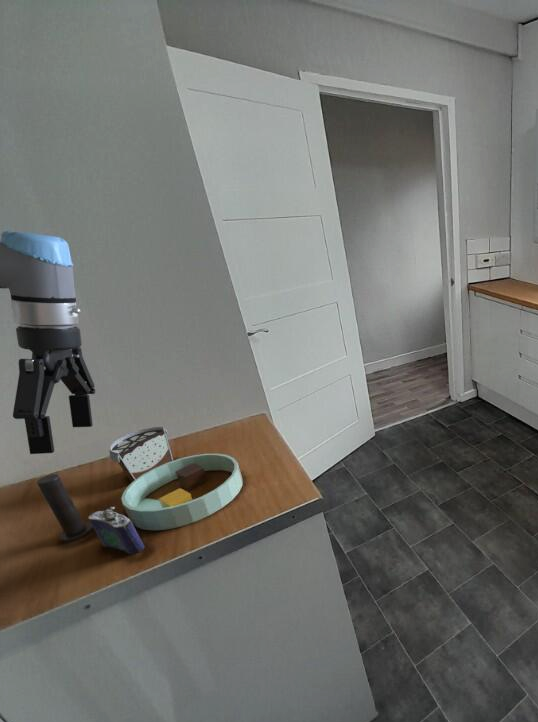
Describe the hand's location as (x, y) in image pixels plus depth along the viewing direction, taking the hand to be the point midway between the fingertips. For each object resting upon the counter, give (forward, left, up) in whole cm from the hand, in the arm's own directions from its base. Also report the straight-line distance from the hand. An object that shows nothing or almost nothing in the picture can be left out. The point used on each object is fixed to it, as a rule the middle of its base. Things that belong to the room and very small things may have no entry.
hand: (64, 438), depth 76 cm
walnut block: (+3, +16, -20) cm, 25 cm away
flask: (+14, -1, -21) cm, 25 cm away
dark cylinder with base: (+2, -4, -20) cm, 21 cm away
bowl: (+7, +13, -20) cm, 25 cm away
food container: (-13, +13, -21) cm, 27 cm away
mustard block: (+10, +9, -20) cm, 24 cm away
